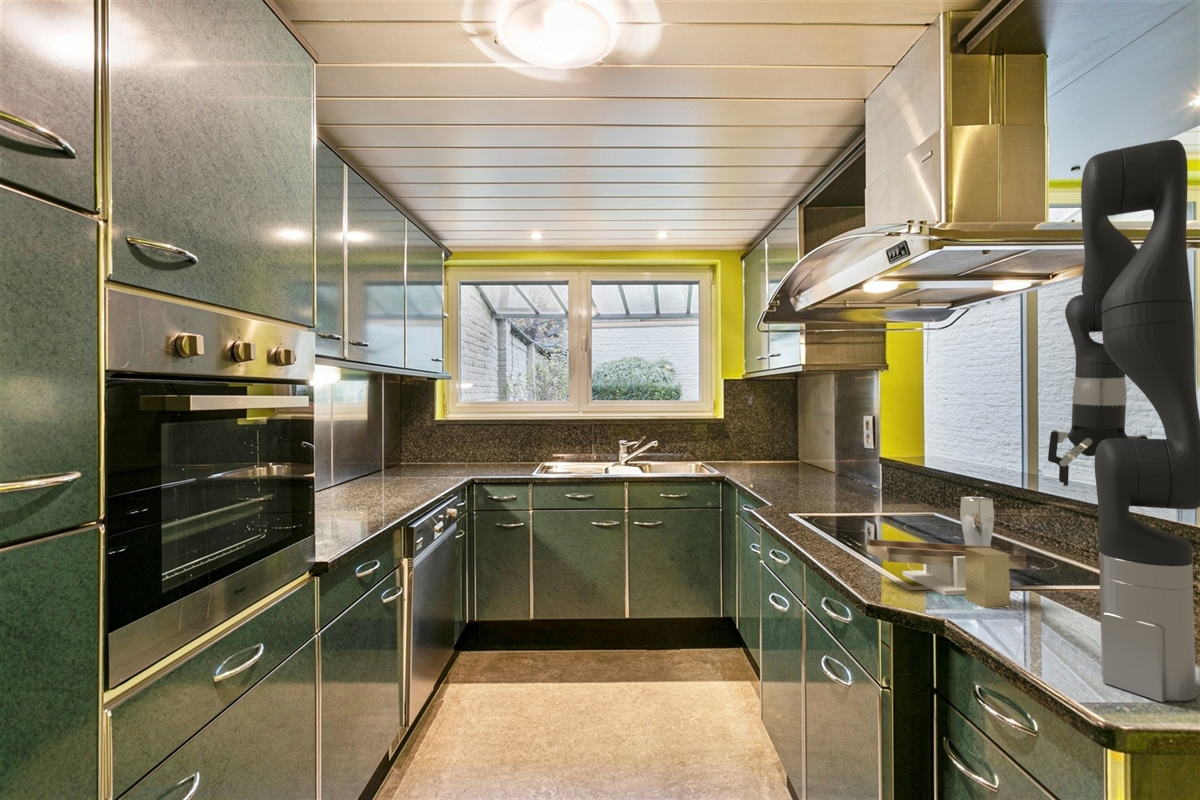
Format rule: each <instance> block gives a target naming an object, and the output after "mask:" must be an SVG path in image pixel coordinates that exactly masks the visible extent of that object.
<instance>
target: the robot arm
mask: <svg viewBox="0 0 1200 800" xmlns="http://www.w3.org/2000/svg"><path fill="white" fill-rule="evenodd" d="M1188 174H1189V173H1188V158H1187V152H1186V150H1185V147H1184V145H1183V144H1182V142H1181V141H1179V140H1177V139H1166V140H1165V139H1164V140H1158V141H1154V142H1153V141H1152V142H1148V143H1141V144H1137V145H1136V144H1135V145H1132V146H1127V147H1122V148H1120V149H1119V148H1118V149H1113V150H1108V151H1104V152H1100V153H1097V154H1095V155H1093V156H1091V157H1090V158H1089V159H1088V161H1087V162H1086V164H1085V165H1084V168H1083V172H1082V178H1081V186H1080V188H1081V189H1080V191H1081V192H1080V193H1081V194H1080V196H1081V197H1080V198H1081V199H1080V205H1081V206H1080V208H1081V210H1080V211H1081V227H1082V228H1081V230H1082V239H1083V249H1084V251H1083V252H1084V264H1083V271H1082V272H1083V273H1082V279H1081V293H1082V294H1078V295H1075V296H1074V297H1072V298H1071V299H1069V300H1068V303H1067V304H1066V307H1065V310H1064V312H1065V313H1064V314H1065V319H1066V324H1067V326H1068V329H1069V332H1070V334H1071V337H1072V340H1073V345H1074V351H1075V373H1074V375H1075V378H1074V383H1073V388H1072V395H1071V396H1072V397H1071V400H1072V405H1071V406H1072V411H1071V429H1070V430H1069V432H1064V431H1058V430H1056V429H1055V430H1051V432H1050V435H1049V436H1050V438H1049V445H1048V446H1049V447H1048V454H1047V460H1048V462H1049V463H1053V464H1056V465H1058V469H1059V470H1058V471H1059V473H1058V480H1059V483H1063V487H1068V486H1069V474H1070V473H1069V471H1070V465H1069V464H1070V463H1071V462H1072V461H1074V459H1076V458H1077V457H1079V456H1080V454H1081V455H1084V456H1085V457H1094V476H1095V487H1096V495H1097V497H1096V498H1097V507H1098V509H1097V510H1098V549H1099V553H1098V554H1099V555H1098V556H1099V559H1098V561H1099V596H1100V598H1099V603H1100V605H1099V606H1100V610H1099V611H1100V647H1101V650H1100V652H1101V675H1102V681H1103V682H1102V683H1104V684H1108V685H1110V686H1114V687H1115V688H1119V689H1122V690H1125V691H1128V692H1131V693H1133V694H1136V695H1139V696H1143V697H1146V698H1148V699H1152V700H1154V701H1158V702H1160V703H1164V702H1166V701H1174V702H1187V701H1191V700H1194V699H1196V695H1197V685H1196V684H1197V683H1196V677H1197V676H1196V651H1195V650H1196V649H1195V647H1196V646H1195V619H1194V618H1195V617H1194V615H1195V614H1194V613H1195V612H1194V609H1195V608H1194V574H1193V573H1194V571H1193V569H1194V568H1193V566H1194V564H1193V561H1194V559H1193V547H1192V545H1191V543H1190V541H1188V540H1187V539H1186V538H1184V537H1182V536H1179V535H1175V534H1174V533H1169V532H1166V531H1164V530H1161V529H1158V528H1155V527H1152V526H1150V525H1148V524H1146V523H1144V522H1143V521H1141V520H1139V519H1136V518H1135V517H1134V516H1133V515H1132V514H1131V513H1130V507H1139V508H1154V509H1155V508H1157V509H1172V510H1173V509H1174V510H1196V509H1199V508H1200V411H1199V406H1198V398H1197V389H1196V388H1197V387H1196V372H1195V369H1196V368H1195V367H1196V366H1195V325H1194V324H1195V323H1194V309H1193V307H1194V306H1193V298H1192V289H1191V280H1190V272H1189V271H1190V270H1189V269H1190V268H1189V260H1188V249H1187V246H1188V245H1187V223H1188V222H1187V219H1188V216H1187V215H1188V214H1187V213H1188V186H1189V185H1188V183H1189V181H1188V180H1189V179H1188ZM1143 211H1152V212H1153V220H1152V225H1151V227H1150V229H1149V232H1148V233H1147V234H1146V235H1147V236H1146V237H1145V239H1144V240H1143V242H1142V244H1141V245H1140V246H1139V249H1138V248H1137V247H1136V246H1135V244H1134V242H1133V241H1131V240H1130V239H1129V238H1128V237H1127V235H1125V234H1124V233H1122V232H1121V231H1120V230H1119V229H1118V228H1116V227H1115V226H1114V225H1113V223H1112V222H1111V220H1110V219H1109V217H1110V216H1117V215H1124V214H1131V213H1137V212H1143ZM1090 333H1102V343H1101V342H1098V341H1095V340H1094V339H1092V337H1091V335H1090ZM1126 377H1128V379H1130V381H1132V383H1133V384H1135V386H1136V387H1137V388H1138V389H1139V390H1140V391H1141V392H1142V393H1143V394H1144V395H1145V397H1146V398H1147V399H1148V401H1149V402H1150V404H1151V405H1152V407H1153V408H1154V410H1155V412H1156V413H1157V415H1158V417H1159V419H1160V421H1161V424H1162V426H1163V429H1164V432H1165V438H1148V436H1147V435H1146V434H1140V435H1127V434H1126V409H1127V407H1126V406H1127V384H1126V383H1127V382H1126ZM1065 439H1068V441H1070V442H1071V444H1072V445H1073V447H1072V448H1071V449H1070V450H1069V451H1068V452H1067V453H1066V454H1065V455H1064V456H1063V457H1060V456H1058V455H1057V452H1058V444H1062V443H1063V442H1064V440H1065Z"/></svg>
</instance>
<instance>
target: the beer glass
mask: <svg viewBox="0 0 1200 800" xmlns="http://www.w3.org/2000/svg"><path fill="white" fill-rule="evenodd" d="M959 510H960V511H959V513H960V514H959V515H960V516H959V517H960V524H961V529H962V530H961V531H962V533H963V538H964V545H975V546H991V544H992V537H993V531H994V524H995V510H994V501H993V498H991V497H990V498H989V497H982V496H971V495H970V496H969V495H968V496H961V497H960V508H959ZM991 547H992V546H991Z"/></svg>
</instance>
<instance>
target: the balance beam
mask: <svg viewBox="0 0 1200 800" xmlns="http://www.w3.org/2000/svg"><path fill="white" fill-rule="evenodd" d="M965 548H992V549H995V550H998V551H1001V549H1000V547H999V546H975V545H965V544H954V543H940V542H939V543H938V542H937V543H936V542H923V541H907V540H905V541H904V540H889V539H873V538H871V539H870V538H867V547H866V552H867V553H869V554H870V555H873V556H875V557H877V558H880V559H881V560H883V561H885V562H889V563H905V564H918V565H919V564H920V565H921V564H937V565H953V556H965ZM1008 554H1009V570H1010V569H1011V570H1026V569H1027V555H1024V554H1011V553H1008Z"/></svg>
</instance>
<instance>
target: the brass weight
mask: <svg viewBox="0 0 1200 800" xmlns="http://www.w3.org/2000/svg"><path fill="white" fill-rule="evenodd" d="M1009 554H1010V553H1007V552H1005V551H1001V550H1000V551H998V550H995V549H992V548H965V575H966V595H965V600H966V601H968V602H970V603H973V604H975V605H977V606H979V607H981V608H983V607H984V608H983V609H993V608H992V607H1006V606H1010V607H1011V590H1010V589H1011V587H1010V585H1011V584H1010V583H1011V582H1010V569H1009Z"/></svg>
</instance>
